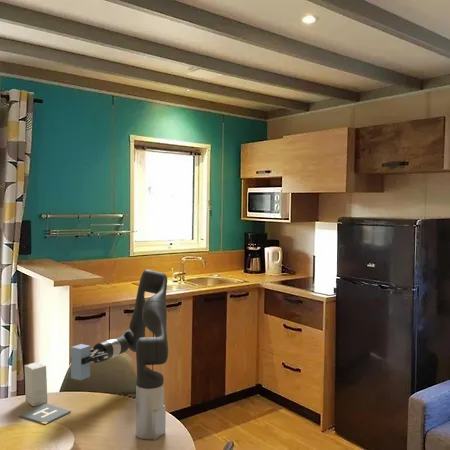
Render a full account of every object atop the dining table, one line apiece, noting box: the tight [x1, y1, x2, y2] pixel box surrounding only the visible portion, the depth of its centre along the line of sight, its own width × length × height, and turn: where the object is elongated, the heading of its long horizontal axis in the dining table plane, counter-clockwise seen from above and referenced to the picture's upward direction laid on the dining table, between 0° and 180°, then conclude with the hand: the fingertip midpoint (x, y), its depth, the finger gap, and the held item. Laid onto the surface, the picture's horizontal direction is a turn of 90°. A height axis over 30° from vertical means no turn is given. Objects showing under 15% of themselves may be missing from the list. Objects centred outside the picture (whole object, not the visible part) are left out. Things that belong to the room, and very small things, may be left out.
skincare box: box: [24, 361, 48, 407], centre depth 188 cm, size 8×6×15 cm
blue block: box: [70, 343, 91, 381], centre depth 183 cm, size 5×5×12 cm
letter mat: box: [18, 403, 72, 423], centre depth 177 cm, size 14×12×1 cm
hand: (76, 360), depth 181 cm, fingers closed on blue block, 5 cm apart
